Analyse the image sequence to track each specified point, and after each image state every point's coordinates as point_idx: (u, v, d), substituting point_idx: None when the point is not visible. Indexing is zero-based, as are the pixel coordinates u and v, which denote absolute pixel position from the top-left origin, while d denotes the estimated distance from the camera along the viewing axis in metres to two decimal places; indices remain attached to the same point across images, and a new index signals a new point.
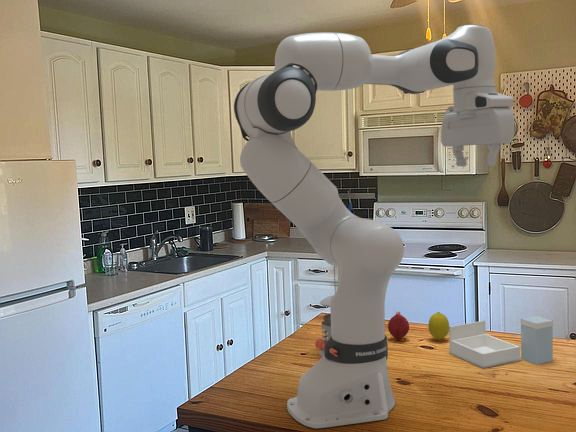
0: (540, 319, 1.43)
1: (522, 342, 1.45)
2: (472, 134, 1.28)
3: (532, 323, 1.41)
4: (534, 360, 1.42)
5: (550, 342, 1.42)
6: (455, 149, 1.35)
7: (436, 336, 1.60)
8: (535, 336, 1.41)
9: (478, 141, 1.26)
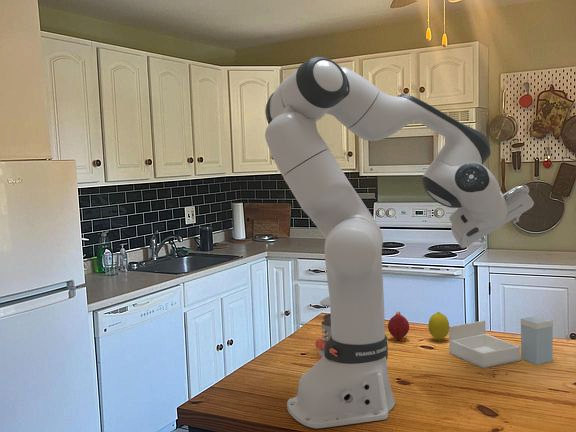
0: (540, 319, 1.43)
1: (522, 342, 1.45)
2: None
3: (532, 323, 1.41)
4: (534, 360, 1.42)
5: (550, 342, 1.42)
6: None
7: (436, 336, 1.60)
8: (534, 336, 1.41)
9: None
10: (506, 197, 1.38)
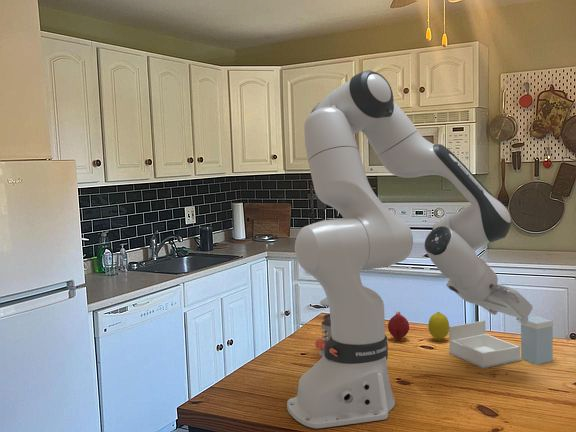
0: (540, 319, 1.43)
1: (522, 342, 1.45)
2: None
3: (532, 323, 1.41)
4: (534, 360, 1.42)
5: (550, 342, 1.42)
6: None
7: (436, 336, 1.60)
8: (535, 336, 1.41)
9: None
10: (491, 287, 1.32)
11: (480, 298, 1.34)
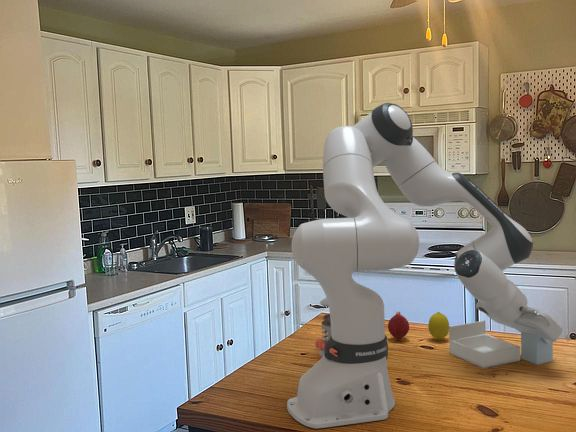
0: None
1: (522, 342, 1.45)
2: None
3: None
4: (534, 360, 1.42)
5: None
6: None
7: (436, 336, 1.60)
8: (535, 336, 1.41)
9: None
10: (521, 310, 1.35)
11: (510, 320, 1.36)
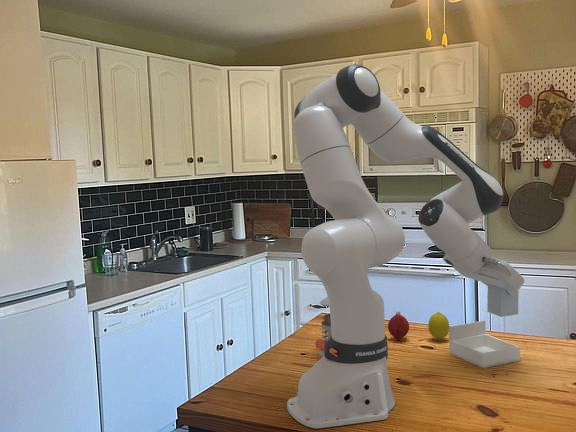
0: None
1: (488, 295, 1.45)
2: None
3: None
4: (499, 312, 1.42)
5: (516, 295, 1.42)
6: None
7: (436, 336, 1.60)
8: (499, 288, 1.41)
9: None
10: (483, 260, 1.35)
11: (473, 270, 1.37)
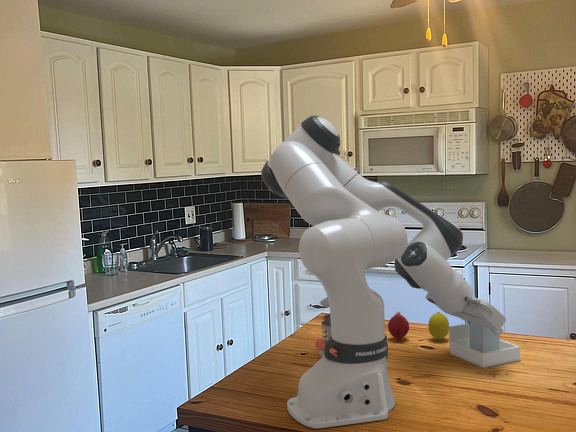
0: None
1: (470, 338, 1.48)
2: None
3: None
4: None
5: (497, 338, 1.45)
6: None
7: (436, 336, 1.60)
8: (481, 332, 1.44)
9: None
10: (466, 299, 1.38)
11: (456, 310, 1.40)
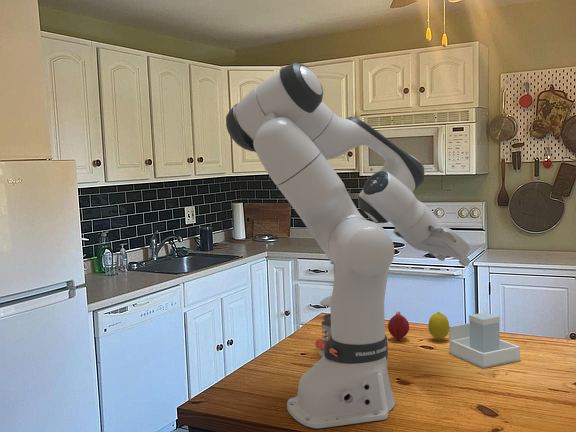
0: (487, 315, 1.47)
1: (470, 338, 1.48)
2: None
3: (479, 319, 1.45)
4: None
5: (497, 338, 1.45)
6: None
7: (436, 336, 1.60)
8: (481, 332, 1.44)
9: None
10: (430, 228, 1.36)
11: (420, 240, 1.37)
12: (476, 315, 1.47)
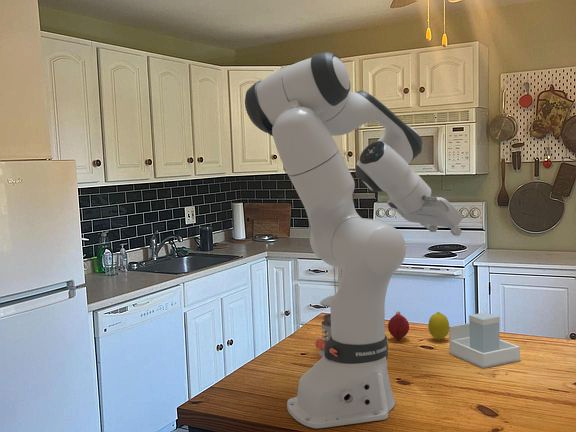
0: (487, 315, 1.47)
1: (470, 338, 1.48)
2: None
3: (479, 319, 1.45)
4: None
5: (497, 338, 1.45)
6: None
7: (436, 336, 1.60)
8: (481, 332, 1.44)
9: None
10: (423, 198, 1.39)
11: (414, 209, 1.41)
12: (476, 315, 1.47)
